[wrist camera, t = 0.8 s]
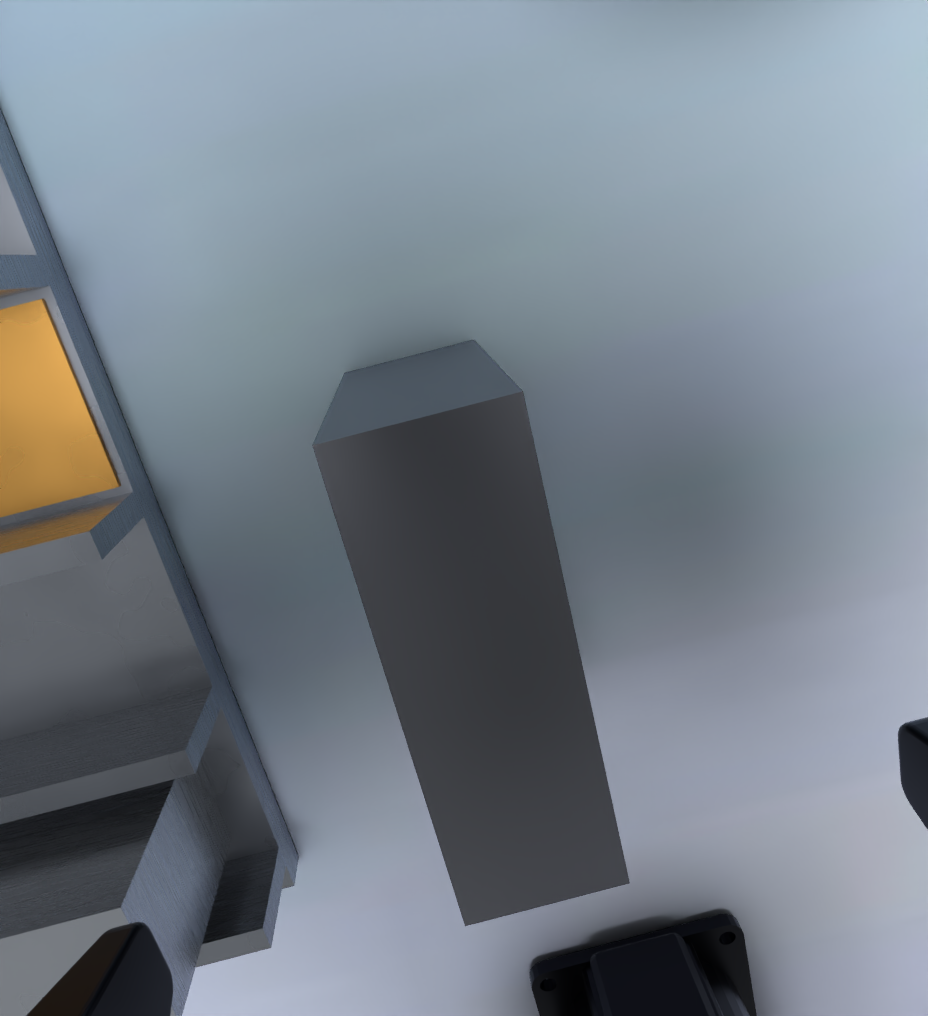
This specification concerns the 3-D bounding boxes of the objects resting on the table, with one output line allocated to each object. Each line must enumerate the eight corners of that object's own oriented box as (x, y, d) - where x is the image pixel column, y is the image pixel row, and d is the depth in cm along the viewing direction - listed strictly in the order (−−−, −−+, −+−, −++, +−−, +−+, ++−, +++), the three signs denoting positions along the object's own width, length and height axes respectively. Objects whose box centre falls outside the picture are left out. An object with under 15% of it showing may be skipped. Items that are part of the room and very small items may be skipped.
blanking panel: (473, 339, 17) (522, 391, 10) (552, 676, 20) (629, 882, 13) (344, 372, 17) (312, 445, 10) (442, 704, 20) (465, 925, 13)
